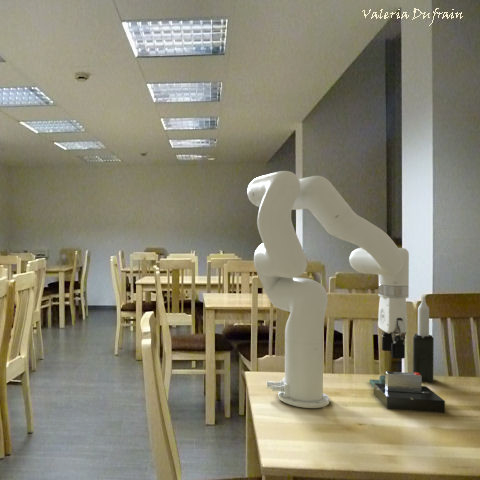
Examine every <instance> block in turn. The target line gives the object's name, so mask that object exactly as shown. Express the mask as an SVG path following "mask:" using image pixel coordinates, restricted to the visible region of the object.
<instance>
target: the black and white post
mask: <svg viewBox="0 0 480 480" xmlns="http://www.w3.org/2000/svg"><path fill="white" fill-rule="evenodd" d="M434 343H435V342H434V337H433V335H431V334H430V307H429V306H428V304H427V302H426V297H425V296H422V297H421V302H420V304H419V306H418V307H417V333H414V335H413V337H412V373H414V372H417V373H419V374H421V376H422V383H427V384H433V383H434V347H435V346H434Z"/></svg>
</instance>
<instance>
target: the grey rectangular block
mask: <svg viewBox="0 0 480 480" xmlns="http://www.w3.org/2000/svg"><path fill="white" fill-rule="evenodd" d="M384 375H385V389H386V390H387V391H394V392H409V393H422V386H423V385H422V383H423V382H422V376H421V374H419V373H417V372H414V373H413V372H400V371H385V374H384Z"/></svg>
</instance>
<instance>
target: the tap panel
mask: <svg viewBox="0 0 480 480" xmlns="http://www.w3.org/2000/svg"><path fill="white" fill-rule="evenodd" d="M373 395H374V396H375V397H376V398H377V399H378V401H379V402H380V403H381V404H382V405H383V407H385V408H386V410H394V411H395V410H396V411H409V412H411V411H412V412H423V413H439V414H445V413H446V407H445V406H446V400H444V399H443V398H442V397H440V395H438V394H437V393H435V392H434V391H433V390H432V389H430V388H429V387H428V386H426V385H422V393H409V392H394V391H387V390H386V389H385V384H380V383H374V387H373Z"/></svg>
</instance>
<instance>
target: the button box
mask: <svg viewBox="0 0 480 480" xmlns="http://www.w3.org/2000/svg"><path fill="white" fill-rule="evenodd" d="M378 378H379V379H372V378H371V379H369V384H370V386H371V387H372V388H374V383H380V384H385V374H382V375H380V376H379V377H378Z"/></svg>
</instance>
